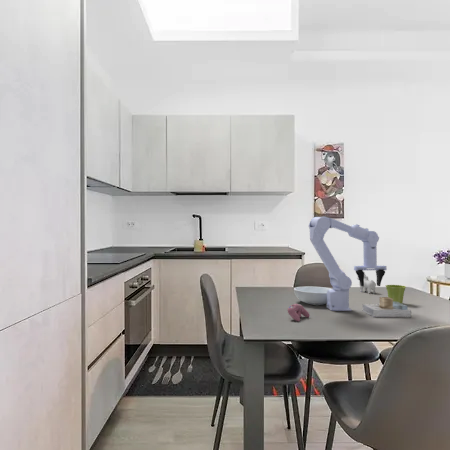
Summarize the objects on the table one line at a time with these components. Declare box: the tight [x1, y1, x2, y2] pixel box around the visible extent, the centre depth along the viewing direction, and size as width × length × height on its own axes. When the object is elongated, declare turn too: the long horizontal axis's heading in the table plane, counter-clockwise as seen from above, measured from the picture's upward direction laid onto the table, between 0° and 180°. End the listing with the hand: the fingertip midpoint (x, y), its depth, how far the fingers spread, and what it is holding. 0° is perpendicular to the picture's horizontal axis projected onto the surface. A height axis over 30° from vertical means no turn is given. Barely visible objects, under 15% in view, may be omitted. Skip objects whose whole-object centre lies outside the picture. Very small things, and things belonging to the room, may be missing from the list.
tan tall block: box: [379, 296, 393, 308], centre depth 168 cm, size 4×4×7 cm
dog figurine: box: [356, 273, 377, 294], centre depth 225 cm, size 5×13×11 cm, turn 23°
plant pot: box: [385, 284, 407, 304], centre depth 191 cm, size 9×9×9 cm
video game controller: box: [287, 303, 311, 322], centre depth 158 cm, size 10×5×7 cm, turn 141°
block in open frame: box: [361, 301, 412, 318], centre depth 168 cm, size 16×12×4 cm
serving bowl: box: [293, 285, 333, 306], centre depth 191 cm, size 21×21×7 cm
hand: (370, 285), depth 179 cm, fingers open, 7 cm apart
